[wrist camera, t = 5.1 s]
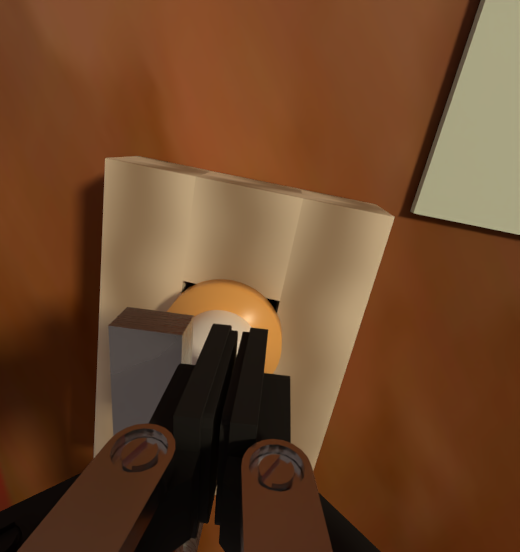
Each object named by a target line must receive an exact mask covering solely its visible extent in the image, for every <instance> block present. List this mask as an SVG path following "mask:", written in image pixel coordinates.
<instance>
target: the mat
mask: <svg viewBox="0 0 520 552" xmlns="http://www.w3.org/2000/svg"><path fill="white" fill-rule="evenodd" d="M410 212H412V213H415V214H420V215H424V216H429V217H434V218H439V219H444V220H449V221H454V222H459V223H464V224H469V225H474V226H479V227H483V228H488V229H493V230H498V231H503V232H508V233H513V234H518V235H520V0H481V1H480V4H479V7H478V10H477V13H476V16H475V19H474V22H473V25H472V28H471V31H470V34H469V37H468V40H467V43H466V46H465V49H464V52H463V55H462V58H461V61H460V64H459V67H458V70H457V73H456V76H455V79H454V82H453V85H452V88H451V91H450V94H449V97H448V100H447V103H446V106H445V109H444V112H443V115H442V118H441V120H440V123H439V126H438V129H437V132H436V135H435V138H434V141H433V144H432V147H431V150H430V153H429V156H428V159H427V162H426V165H425V168H424V171H423V174H422V177H421V180H420V183H419V186H418V189H417V192H416V195H415V198H414V201H413V204H412V207H411V210H410Z"/></svg>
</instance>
